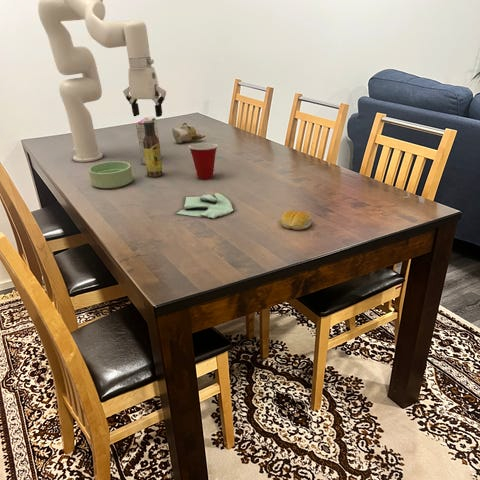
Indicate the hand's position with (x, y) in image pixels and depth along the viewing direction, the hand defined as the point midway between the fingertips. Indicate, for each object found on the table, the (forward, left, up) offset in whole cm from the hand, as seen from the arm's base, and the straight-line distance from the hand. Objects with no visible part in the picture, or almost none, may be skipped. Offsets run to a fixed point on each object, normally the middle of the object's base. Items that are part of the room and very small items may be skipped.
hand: (147, 115), depth 175 cm
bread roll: (+73, -6, -22) cm, 76 cm away
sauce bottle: (0, 0, -22) cm, 22 cm away
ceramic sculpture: (-28, +43, -22) cm, 56 cm away
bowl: (-6, -16, -22) cm, 28 cm away
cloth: (+40, -11, -22) cm, 47 cm away
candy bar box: (-17, +12, -22) cm, 31 cm away
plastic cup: (+18, +10, -22) cm, 30 cm away
